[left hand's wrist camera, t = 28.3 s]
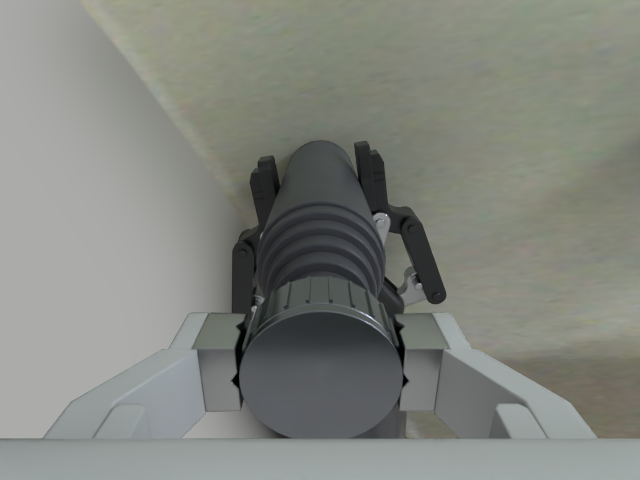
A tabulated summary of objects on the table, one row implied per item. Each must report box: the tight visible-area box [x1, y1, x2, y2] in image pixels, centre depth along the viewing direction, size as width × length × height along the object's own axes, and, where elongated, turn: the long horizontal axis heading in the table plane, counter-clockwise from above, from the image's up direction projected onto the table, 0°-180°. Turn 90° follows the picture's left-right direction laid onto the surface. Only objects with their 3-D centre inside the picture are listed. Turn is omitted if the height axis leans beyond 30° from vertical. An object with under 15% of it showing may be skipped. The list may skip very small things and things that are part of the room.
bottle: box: [256, 141, 385, 299], centre depth 19 cm, size 5×5×21 cm
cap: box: [239, 276, 403, 439], centre depth 10 cm, size 4×4×2 cm
